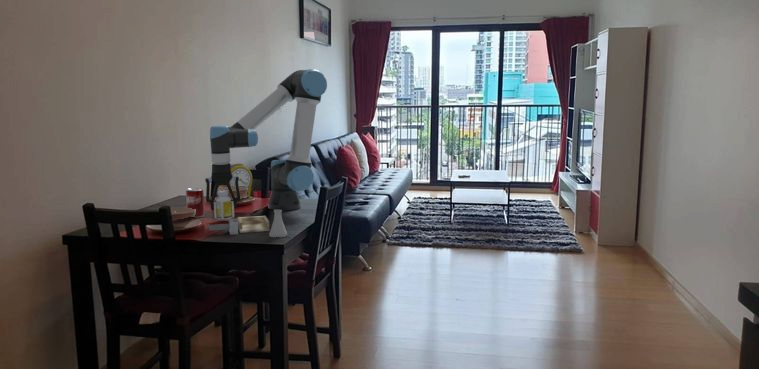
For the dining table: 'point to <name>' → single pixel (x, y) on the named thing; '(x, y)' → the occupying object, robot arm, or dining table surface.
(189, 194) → the soda can
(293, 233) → the dining table surface
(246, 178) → the alarm clock
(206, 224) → the lock pin
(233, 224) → the pin mount
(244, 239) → the dining table surface
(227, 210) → the pill bottle
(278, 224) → the flask
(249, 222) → the dock
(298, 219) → the dining table surface
